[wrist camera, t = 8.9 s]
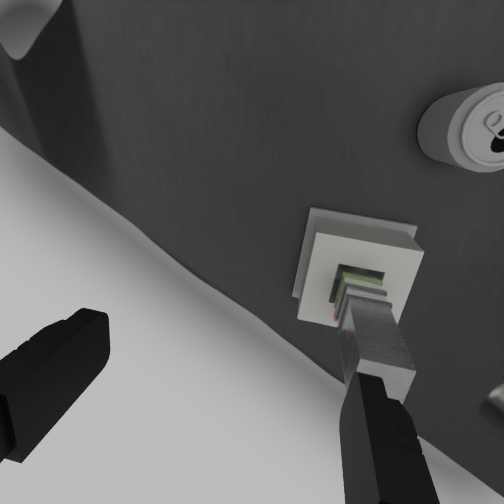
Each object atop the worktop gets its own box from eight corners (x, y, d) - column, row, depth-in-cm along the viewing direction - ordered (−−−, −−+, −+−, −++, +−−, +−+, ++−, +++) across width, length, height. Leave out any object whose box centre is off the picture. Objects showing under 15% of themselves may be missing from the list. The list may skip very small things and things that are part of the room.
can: (442, 174, 40) (490, 192, 29) (401, 130, 39) (435, 132, 28) (500, 126, 37) (578, 126, 26) (457, 77, 36) (520, 56, 25)
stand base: (310, 206, 44) (309, 224, 36) (415, 224, 42) (440, 248, 34) (292, 294, 49) (287, 327, 41) (384, 313, 48) (399, 352, 40)
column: (341, 267, 38) (358, 355, 24) (379, 274, 38) (420, 369, 23) (333, 299, 40) (343, 399, 25) (369, 306, 39) (401, 413, 25)
